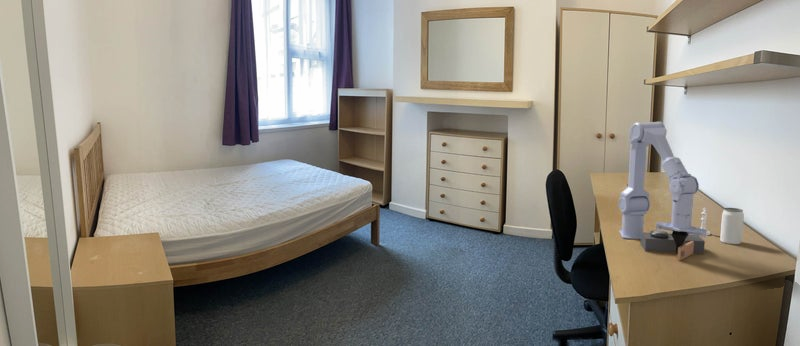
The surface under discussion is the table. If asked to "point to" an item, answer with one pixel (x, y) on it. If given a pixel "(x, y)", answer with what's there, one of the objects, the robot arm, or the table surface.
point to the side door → (685, 250)
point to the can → (732, 226)
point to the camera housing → (668, 242)
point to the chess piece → (704, 221)
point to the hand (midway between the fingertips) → (679, 253)
